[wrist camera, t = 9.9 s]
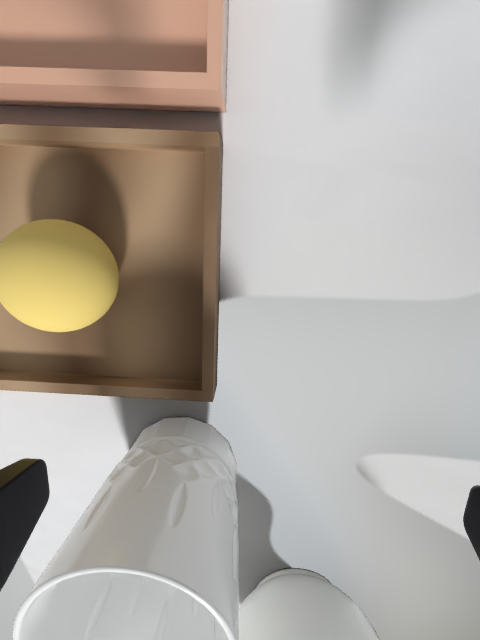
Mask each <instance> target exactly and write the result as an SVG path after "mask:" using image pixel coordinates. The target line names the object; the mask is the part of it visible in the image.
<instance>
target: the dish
mask: <svg viewBox="0 0 480 640" xmlns="http://www.w3.org/2000/svg"><path fill="white" fill-rule="evenodd" d="M228 15H229V0H0V105H27V106H57V107H87V108H117V109H146V110H176V111H206V112H226V88H227V52H228Z"/></svg>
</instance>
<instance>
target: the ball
mask: <svg viewBox="0 0 480 640" xmlns="http://www.w3.org/2000/svg"><path fill="white" fill-rule="evenodd" d="M118 286H119V272H118V267H117V263H116V260H115V258H114V256H113V254H112V252H111V251H110V249H109V248H108V246H107V245H106V244H105V243H104V242H103V240H102V239H101V238H99V237H98V236H97V235H96V234H95V233H93V232H92V231H90V230H89V229H87V228H85V227H83V226H81V225H79V224H76V223H73V222H69V221H65V220H58V219H43V220H37V221H33V222H30V223H27V224H24V225H22V226H20V227H18V228H16V229H15V230H13V231H12V232H10V233H9V234H8V235H7V236H6V237H5V238H4V239H3V240H2V242H1V243H0V302H1V304H2V305H3V306H4V308H5V309H6V310H7V311H8V312H9V313H10V314H11V315H13V316H14V317H15V318H16V319H18V320H19V321H21V322H23V323H24V324H26V325H28V326H31V327H34V328H36V329H39V330H44V331H49V332H68V331H74V330H78V329H82V328H84V327H86V326H89V325H91V324H93V323H94V322H96V321H97V320H98V319H100V318H101V317H102V316H103V315H104V314H105V313H106V312H107V311H108V310H109V308H110V307H111V305H112V304H113V302H114V300H115V298H116V295H117V292H118Z"/></svg>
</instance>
